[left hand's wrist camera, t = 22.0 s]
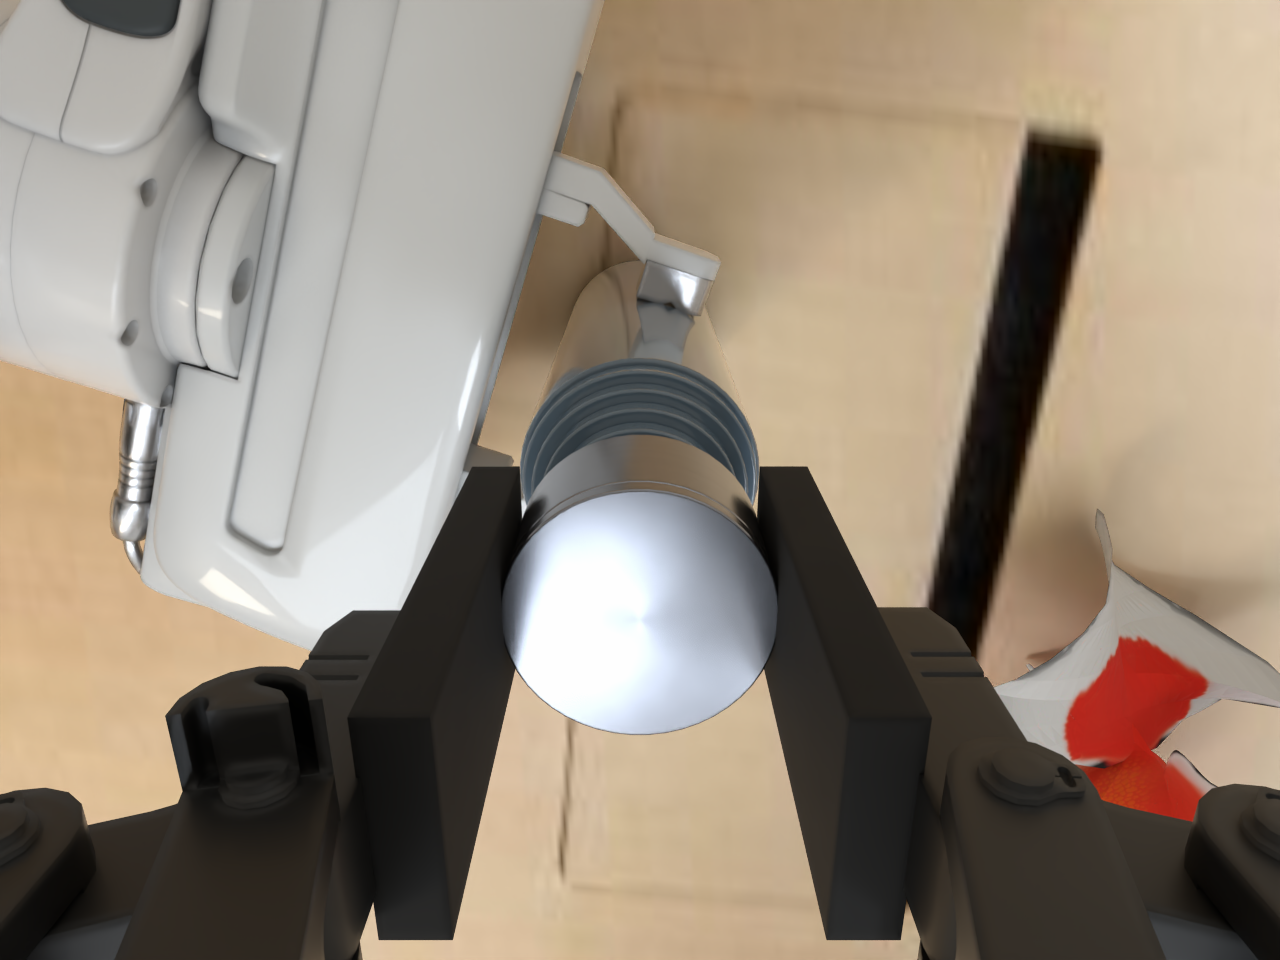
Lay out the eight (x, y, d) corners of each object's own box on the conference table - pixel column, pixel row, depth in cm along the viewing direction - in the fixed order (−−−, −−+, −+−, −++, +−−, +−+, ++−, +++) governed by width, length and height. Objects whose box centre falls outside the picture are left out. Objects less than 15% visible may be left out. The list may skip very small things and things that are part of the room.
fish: (864, 908, 33) (1100, 1065, 24) (911, 492, 34) (1152, 493, 25) (1070, 897, 38) (1335, 1027, 28) (1105, 528, 39) (1371, 539, 30)
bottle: (710, 259, 29) (809, 439, 12) (708, 397, 31) (792, 724, 14) (567, 260, 29) (466, 442, 12) (573, 398, 31) (490, 728, 14)
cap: (807, 557, 15) (836, 630, 12) (629, 690, 16) (627, 780, 13) (651, 382, 14) (653, 430, 11) (469, 537, 14) (440, 608, 12)
